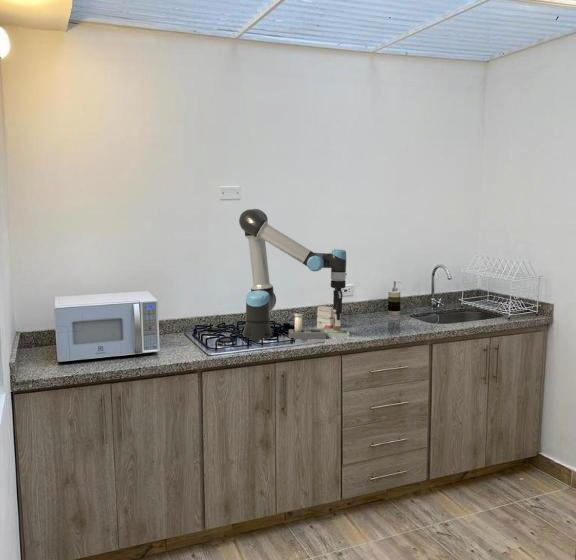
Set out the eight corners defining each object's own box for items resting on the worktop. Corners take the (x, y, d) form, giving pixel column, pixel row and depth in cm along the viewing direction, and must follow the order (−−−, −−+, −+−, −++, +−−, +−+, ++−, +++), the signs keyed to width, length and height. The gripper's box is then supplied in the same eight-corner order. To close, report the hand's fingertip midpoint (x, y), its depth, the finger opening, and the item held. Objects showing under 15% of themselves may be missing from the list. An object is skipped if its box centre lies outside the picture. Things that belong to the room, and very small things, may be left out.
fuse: (294, 338, 302) (294, 314, 300) (293, 336, 306) (294, 312, 304) (302, 337, 302) (303, 314, 300) (301, 336, 306) (302, 312, 304)
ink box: (334, 328, 329) (335, 307, 327) (330, 330, 325) (330, 308, 323) (320, 326, 334) (321, 305, 332) (316, 328, 329) (316, 306, 328)
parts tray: (326, 338, 306) (326, 333, 305) (323, 334, 315) (324, 329, 314) (349, 338, 307) (349, 333, 306) (346, 334, 316) (346, 329, 315)
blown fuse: (333, 333, 308) (334, 310, 307) (332, 331, 312) (332, 309, 311) (341, 333, 309) (342, 310, 307) (340, 331, 313) (340, 309, 311)
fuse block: (290, 341, 299) (290, 333, 299) (288, 336, 308) (288, 329, 308) (325, 340, 301) (326, 333, 300) (323, 336, 310) (323, 329, 309)
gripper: (348, 282, 299) (347, 328, 302) (342, 277, 315) (341, 321, 319) (333, 282, 298) (332, 328, 301) (328, 277, 315) (327, 321, 318)
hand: (336, 324), depth 310 cm, fingers closed on blown fuse, 4 cm apart
